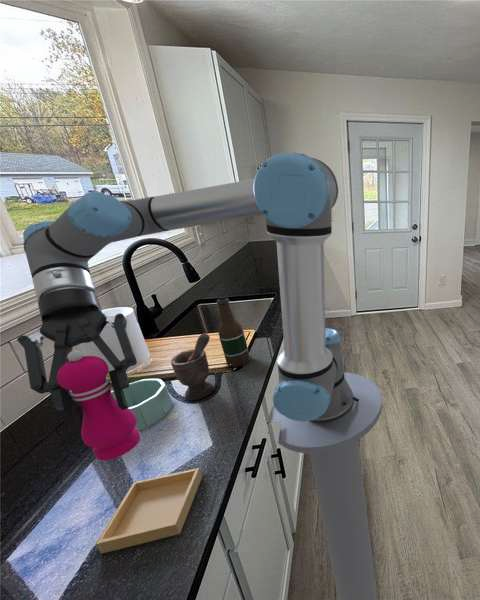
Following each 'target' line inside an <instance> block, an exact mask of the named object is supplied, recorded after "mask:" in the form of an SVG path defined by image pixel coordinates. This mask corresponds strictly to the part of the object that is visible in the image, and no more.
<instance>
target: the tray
mask: <svg viewBox="0 0 480 600" xmlns="http://www.w3.org/2000/svg"><path fill="white" fill-rule="evenodd" d="M202 479H203V474H202V472H201V469H200V467H197V468H192V469H188V470H182V471H178V472H174V473H173V472H172V473H169V474H165V475H160V476H154V477H150V478H146V479H141V480H138V481H137V480H136V481H133V482H132V484H131V486H130V488H128V491H127V492H126V494H125V496H124V497H123V499H122V501H121V502H120V504H119V505H118V507H117V508H116V510H115V511H114V514H113V515H112V517H111V518H110V519H109V522H108V523H107V524H106V526H105V528H104V530H103V531H102V532H101V534H100V536H99V538H98V540H97V542H96V543H95V546H96V547H97V549H98V551H99V552H100V554H102V555H103V554H106V553H111V552H115V551H118V550H123V549H126V548H130V547H133V546H134V547H135V546H138V545H142V544H146V543H150V542H155V541H158V540H162V539H166V538H169V537H173V536H178V535H180V534H181V532H182V531H183V527H184V525H185V522H186V519H187V517H188V514H189V512H190V510H191V506H192V504H193V502H194V499H195V496H196V494H197V491H198V489H199V488H200V484H201V482H202Z"/></svg>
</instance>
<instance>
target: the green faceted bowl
mask: <svg viewBox="0 0 480 600" xmlns="http://www.w3.org/2000/svg"><path fill="white" fill-rule="evenodd" d="M129 383H130V385H129V387H128V388H125V389H123V392H124V396H125V399H126V402H127V406H128V408H129V409H130V410H131V411H132V412H133V413H134V415H135V416H136V418H137V423H136V426H135V428H137V429H138V431H139V432H140V431H141V430H142V431H143V430H145V429H147V428H149V427H151V426H152V425H153V424H155V423H157V422H159V421H160V420H161V419H163V418H165V417H166V416H167V414H168V413H169V411H170V410H171V408H172V407H173V405H174V404H173V402H172V399H171V395H170V393H169V391H168V388H167V386H166V383H165V382H164V381H163V380H162V378H143V379H140V380H136V381H132V382H129ZM111 394H112V395H113V397H114V398H115V399H116V397H115V393H114V390H113V391H111Z"/></svg>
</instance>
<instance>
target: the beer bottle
mask: <svg viewBox="0 0 480 600" xmlns="http://www.w3.org/2000/svg"><path fill="white" fill-rule="evenodd" d="M216 305H218V311H219V316H220V321H221V322H220V325H219V329H218V338H219V341H220V345H221V349H222V352H223V355H224V358H225V362H226V365H227V366H228V367H231V368H238V367H241V366H244V365H246V364H247V363H249V362H250V360H251V359H250V351H249V348H248V343H247V339H246V335H245V332H244V328H243V325H242V324H241V323H240V322H239V321H238V320H237V319H236V318H235V316H234V313H233V311H232V308H231V306H230V299H229V298H228V297H221V298H218V299H216ZM230 364H231V365H230Z"/></svg>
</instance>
